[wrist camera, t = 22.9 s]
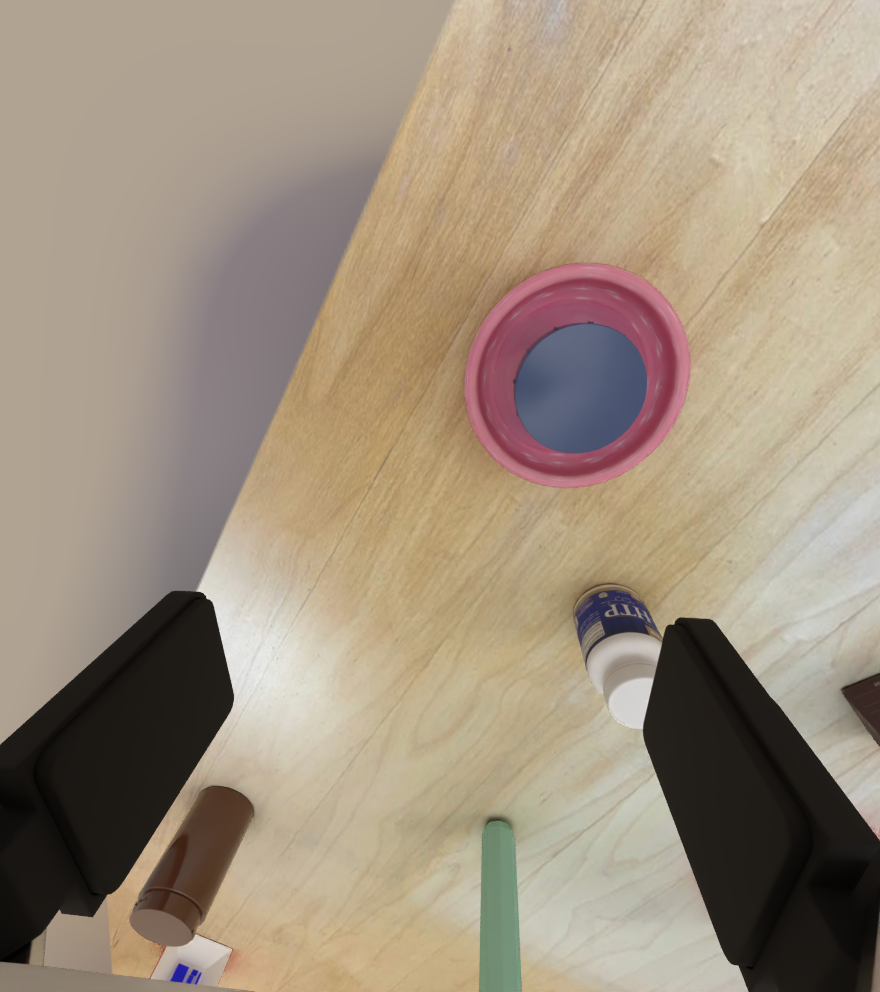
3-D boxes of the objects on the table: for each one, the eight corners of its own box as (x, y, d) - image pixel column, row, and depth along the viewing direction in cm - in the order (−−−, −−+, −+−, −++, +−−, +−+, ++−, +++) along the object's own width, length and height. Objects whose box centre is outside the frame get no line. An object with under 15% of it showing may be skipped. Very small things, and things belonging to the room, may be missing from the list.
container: (480, 810, 44) (475, 1058, 29) (519, 815, 44) (534, 1069, 29) (477, 834, 46) (471, 1083, 31) (515, 840, 45) (526, 1094, 31)
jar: (198, 817, 50) (128, 939, 40) (197, 780, 47) (122, 900, 38) (253, 830, 49) (196, 955, 40) (255, 793, 47) (194, 917, 37)
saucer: (501, 240, 26) (503, 232, 23) (709, 302, 26) (737, 301, 23) (444, 442, 31) (439, 456, 28) (619, 494, 31) (632, 513, 28)
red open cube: (162, 951, 62) (119, 1036, 55) (176, 926, 59) (132, 1013, 52) (216, 973, 63) (180, 1060, 55) (233, 949, 60) (197, 1037, 52)
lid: (637, 312, 24) (647, 312, 22) (638, 437, 26) (647, 445, 24) (507, 333, 25) (508, 335, 23) (519, 452, 27) (521, 460, 26)
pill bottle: (656, 594, 33) (711, 686, 25) (625, 647, 35) (666, 748, 27) (588, 573, 33) (620, 658, 25) (561, 627, 35) (582, 723, 27)
